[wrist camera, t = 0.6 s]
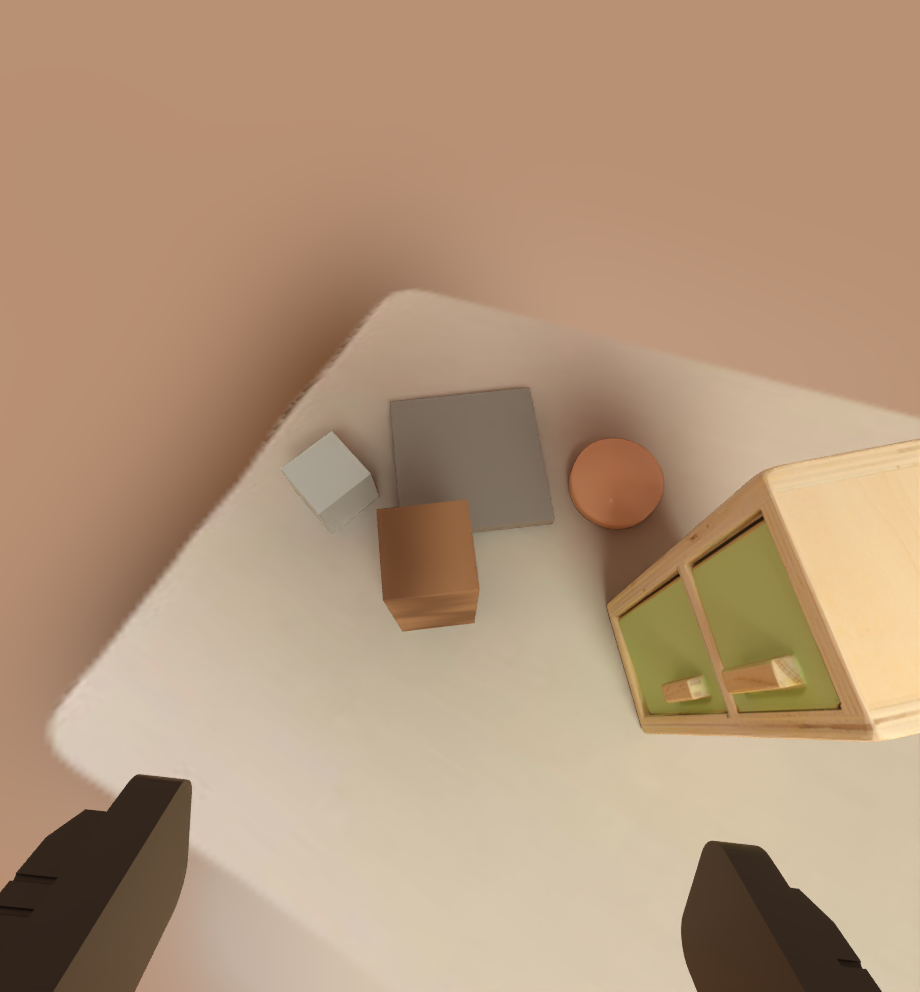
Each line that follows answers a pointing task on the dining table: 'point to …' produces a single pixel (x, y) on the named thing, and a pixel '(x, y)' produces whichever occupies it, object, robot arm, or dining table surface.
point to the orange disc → (615, 483)
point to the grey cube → (331, 481)
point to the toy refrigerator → (787, 608)
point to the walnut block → (428, 564)
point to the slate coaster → (473, 457)
